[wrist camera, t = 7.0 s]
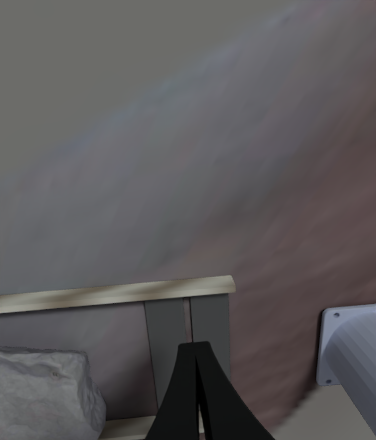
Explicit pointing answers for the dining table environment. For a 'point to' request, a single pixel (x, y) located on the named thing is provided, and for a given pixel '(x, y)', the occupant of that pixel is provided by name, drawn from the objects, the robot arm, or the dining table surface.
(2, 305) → the grey cream flat frame
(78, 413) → the stone block
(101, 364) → the dining table surface
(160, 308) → the tiles
